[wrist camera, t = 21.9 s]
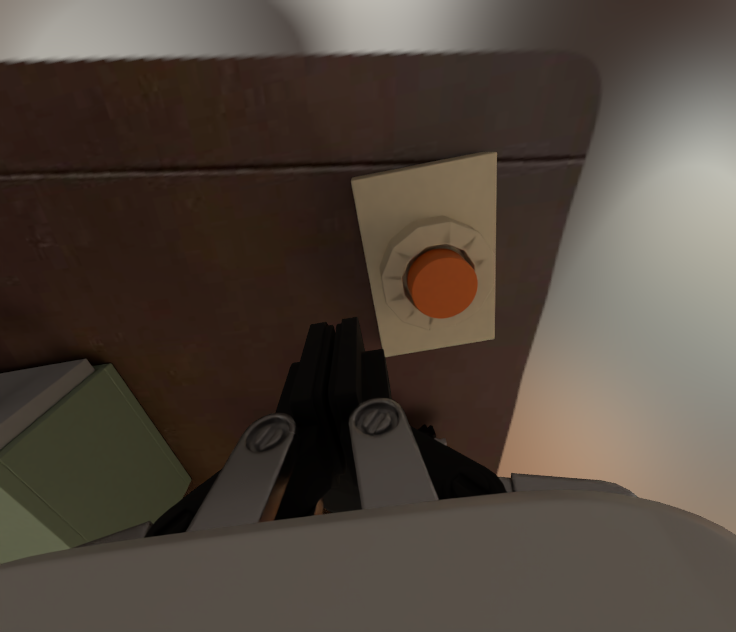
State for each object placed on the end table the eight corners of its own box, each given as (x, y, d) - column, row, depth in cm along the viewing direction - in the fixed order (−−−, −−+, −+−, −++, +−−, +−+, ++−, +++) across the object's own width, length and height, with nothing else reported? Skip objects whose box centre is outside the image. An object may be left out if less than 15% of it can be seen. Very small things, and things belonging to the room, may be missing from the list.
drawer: (-90, 332, 22) (-295, 416, 15) (49, 307, 21) (-98, 380, 14) (67, 489, 30) (-18, 590, 23) (171, 473, 30) (114, 571, 23)
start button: (403, 254, 18) (407, 264, 16) (467, 242, 18) (477, 251, 16) (410, 310, 19) (415, 324, 18) (468, 300, 19) (478, 313, 18)
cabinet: (-25, 386, 25) (-218, 504, 17) (111, 362, 25) (-18, 473, 16) (83, 495, 32) (-16, 620, 23) (192, 479, 31) (131, 600, 23)
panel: (351, 177, 19) (350, 183, 16) (482, 151, 19) (512, 151, 15) (381, 341, 25) (386, 373, 21) (483, 324, 24) (505, 353, 21)
